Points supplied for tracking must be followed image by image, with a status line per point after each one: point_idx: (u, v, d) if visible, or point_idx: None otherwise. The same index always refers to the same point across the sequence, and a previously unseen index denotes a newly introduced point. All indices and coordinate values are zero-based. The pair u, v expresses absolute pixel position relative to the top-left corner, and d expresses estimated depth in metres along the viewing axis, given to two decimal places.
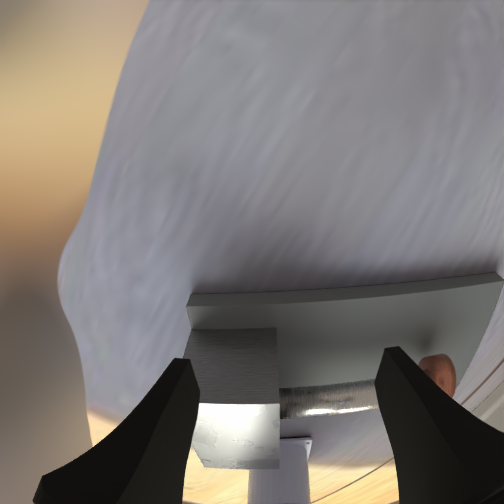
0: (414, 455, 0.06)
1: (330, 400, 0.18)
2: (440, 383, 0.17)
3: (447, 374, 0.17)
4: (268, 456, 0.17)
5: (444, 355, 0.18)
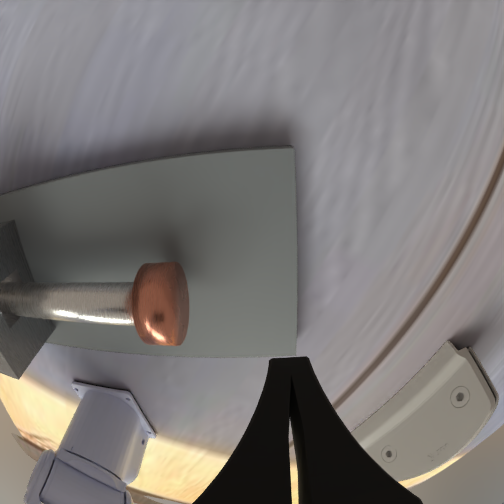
0: (301, 476, 0.06)
1: (31, 294, 0.14)
2: (133, 294, 0.13)
3: (148, 283, 0.13)
4: None
5: (170, 262, 0.15)
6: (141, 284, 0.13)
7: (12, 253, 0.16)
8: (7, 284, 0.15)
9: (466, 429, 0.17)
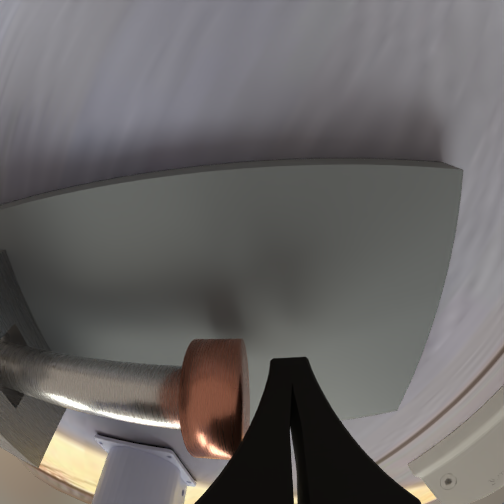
0: (300, 476, 0.06)
1: (15, 368, 0.09)
2: (180, 406, 0.07)
3: (205, 389, 0.07)
4: None
5: (232, 342, 0.09)
6: (194, 391, 0.07)
7: (6, 301, 0.10)
8: None
9: None
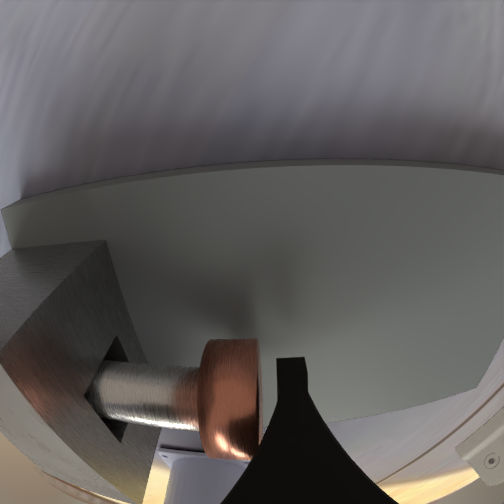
0: None
1: None
2: (199, 408, 0.07)
3: (225, 390, 0.07)
4: (97, 481, 0.07)
5: (249, 342, 0.09)
6: (213, 392, 0.07)
7: (108, 307, 0.10)
8: None
9: None
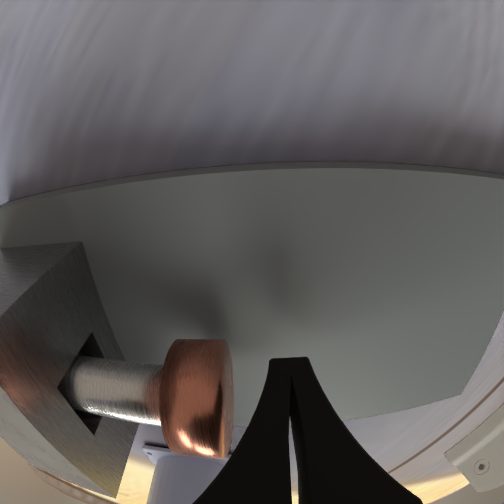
0: (301, 476, 0.06)
1: None
2: (161, 404, 0.07)
3: (185, 388, 0.08)
4: (72, 471, 0.07)
5: (214, 342, 0.09)
6: (174, 389, 0.08)
7: (83, 305, 0.10)
8: None
9: None
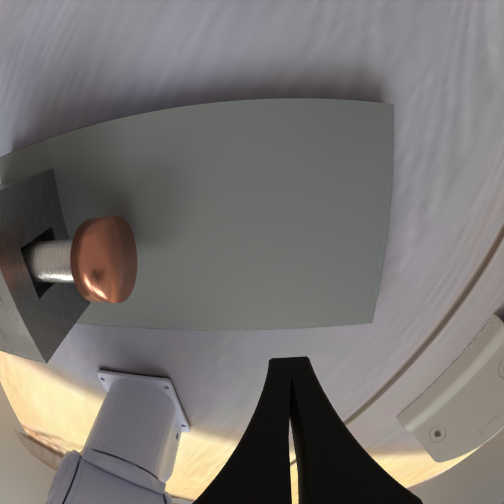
0: (301, 475, 0.06)
1: None
2: (72, 244, 0.12)
3: (86, 232, 0.12)
4: (17, 324, 0.12)
5: (114, 216, 0.14)
6: (81, 234, 0.12)
7: (48, 207, 0.15)
8: None
9: None
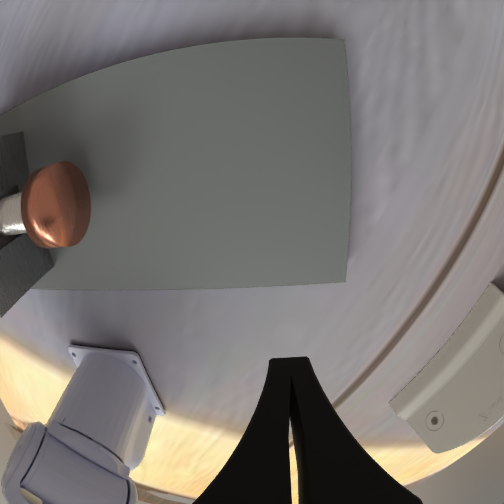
0: (301, 476, 0.06)
1: None
2: (24, 186, 0.11)
3: (37, 174, 0.11)
4: None
5: None
6: (33, 177, 0.11)
7: (15, 165, 0.13)
8: None
9: None
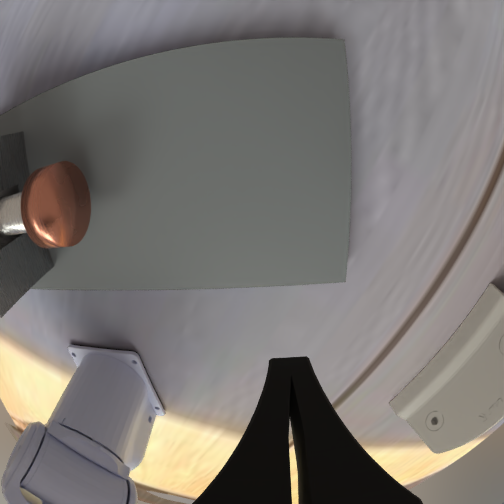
0: (301, 476, 0.06)
1: None
2: (24, 186, 0.11)
3: (37, 174, 0.11)
4: None
5: None
6: (33, 177, 0.11)
7: (15, 165, 0.13)
8: None
9: None
